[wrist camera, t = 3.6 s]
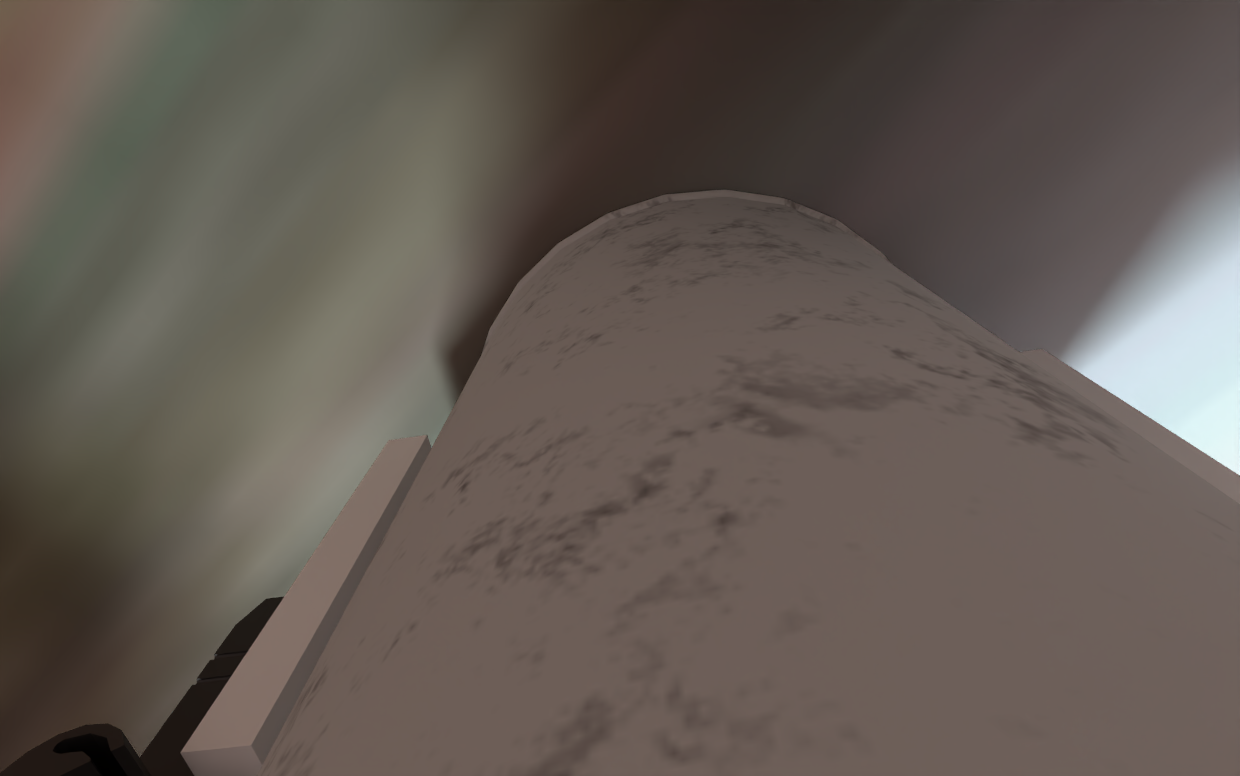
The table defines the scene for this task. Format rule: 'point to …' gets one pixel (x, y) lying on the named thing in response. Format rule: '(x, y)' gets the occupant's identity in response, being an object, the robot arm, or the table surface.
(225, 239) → the table surface
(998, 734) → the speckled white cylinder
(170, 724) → the robot arm
